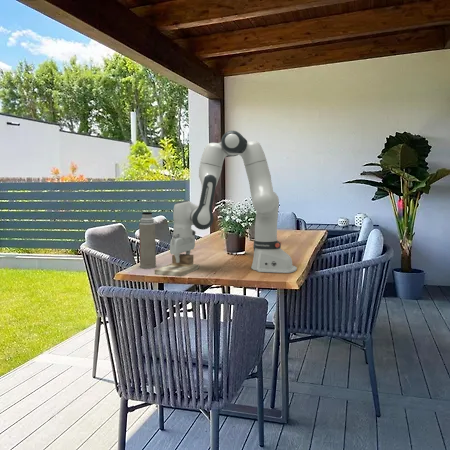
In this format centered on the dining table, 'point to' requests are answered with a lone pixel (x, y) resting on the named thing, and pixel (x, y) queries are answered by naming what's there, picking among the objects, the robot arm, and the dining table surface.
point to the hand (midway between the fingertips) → (182, 260)
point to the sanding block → (183, 260)
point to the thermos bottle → (147, 241)
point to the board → (176, 270)
